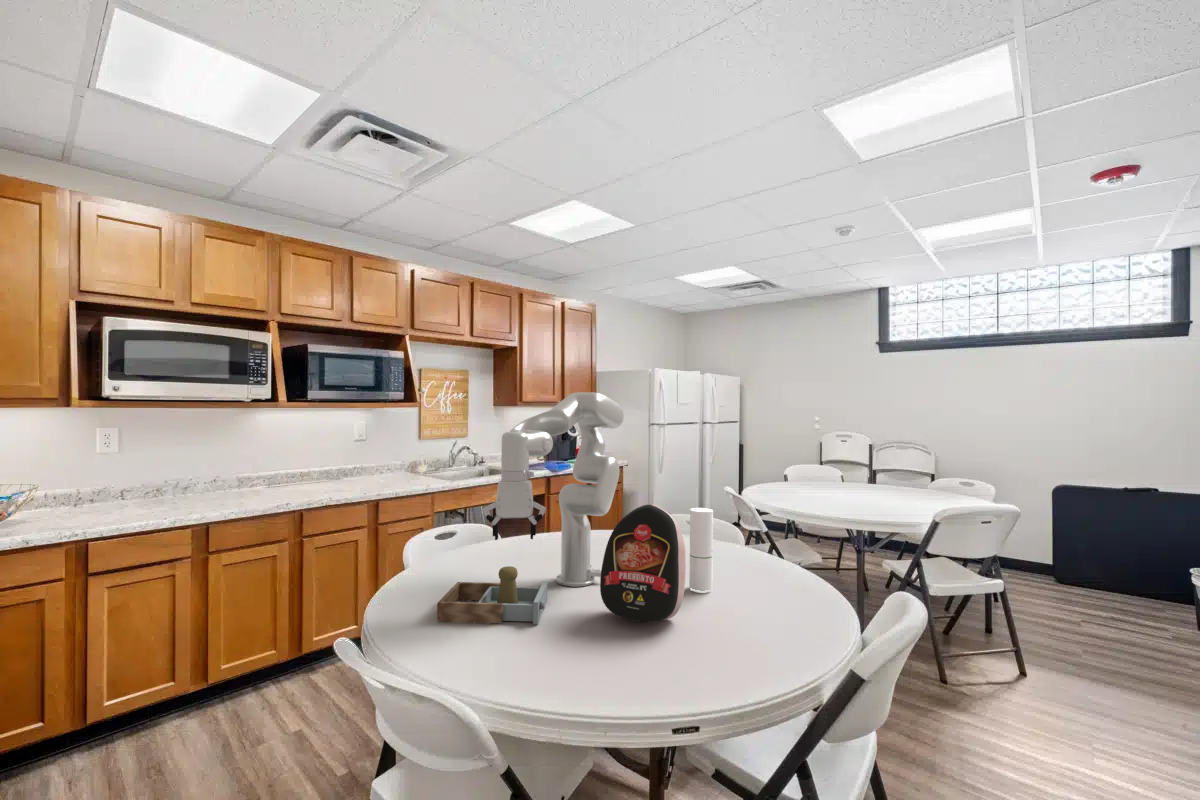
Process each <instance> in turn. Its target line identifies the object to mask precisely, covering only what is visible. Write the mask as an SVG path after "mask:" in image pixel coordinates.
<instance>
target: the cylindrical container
mask: <svg viewBox="0 0 1200 800" xmlns="http://www.w3.org/2000/svg"><path fill="white" fill-rule="evenodd" d="M713 555H714V510H713V509H711V508H707V507H706V508H705V507H693V508H692V507H691V508H690V509H689V574H688V575H689V577H688V578H689V587H690V588H692V589H695V590H700V591H705V590H710V589H712V590H713V586H714V585H713V580H714V579H713V571H714V570H713V569H714V567H713V566H714V565H713V564H714V561H713V559H714V556H713ZM689 587H688V588H689Z"/></svg>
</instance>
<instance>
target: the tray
mask: <svg viewBox="0 0 1200 800" xmlns="http://www.w3.org/2000/svg"><path fill="white" fill-rule="evenodd" d="M548 584H549V582H548V580H543V581H542V583H541V584H540V587H532V586H531V587H529V586H528V587H523V586H522V587H521V586H516V589H517V597H518V604H506V603H503V618H502V622H503V621H504V622H507V621H508V622H532V624H533V625H539V622H540V620H541V617H542V615H543V612H544V610H545V607H546V604H547V602H548V587H549V586H548ZM498 594H499V587H497V586H490V587H489V588H488V590H487V591H486V592H485V594H484V595H483V596H482V598H481V599H480V600H479V601H478V602H477V603H497V601H498Z"/></svg>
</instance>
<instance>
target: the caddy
mask: <svg viewBox="0 0 1200 800" xmlns="http://www.w3.org/2000/svg"><path fill="white" fill-rule="evenodd" d="M490 586H497V587H500V582H476V581H475V582H472V581H470V582H469V581H457V582H456V583H455V584H454V585H453V586H452V587H451V588H450V589H449V590H448V591H447V592H446V593H445V594H444V595H443V596H442V597H441V599H439V601H437V609H436V612H437V614H436V616H437V617H436V622H437V623H452V622H466V623H465V624H484V623H502V624H503V621H502V618H503V603H478V602H477V600H480V599H481V598H482V596H483V595H484V594H485V592H486V591H487V590H488V588H489V587H490ZM462 600H476V601H462ZM458 601H459V602H458ZM474 622H475V623H474Z"/></svg>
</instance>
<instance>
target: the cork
mask: <svg viewBox="0 0 1200 800" xmlns="http://www.w3.org/2000/svg"><path fill="white" fill-rule="evenodd" d="M518 575H519V571H518V569H517V568H516V567H514V566H503V567H501V568H500V569H499V571H498V579H499V580H500V581H499V583H500V587H499V594H498V601H497V603H506V604H518V597H517V589H516V587H517V582H516V579H518Z"/></svg>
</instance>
